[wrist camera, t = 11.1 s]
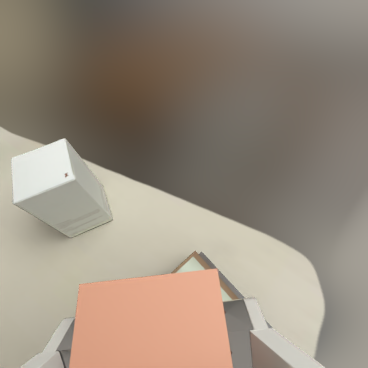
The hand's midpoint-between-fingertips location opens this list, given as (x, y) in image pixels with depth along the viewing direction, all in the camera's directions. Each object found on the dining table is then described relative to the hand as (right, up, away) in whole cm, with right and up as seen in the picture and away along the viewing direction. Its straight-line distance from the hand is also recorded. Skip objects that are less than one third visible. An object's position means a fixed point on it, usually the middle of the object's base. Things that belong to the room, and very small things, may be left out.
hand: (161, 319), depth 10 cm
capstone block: (+1, -4, +5) cm, 6 cm away
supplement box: (-15, +1, +30) cm, 33 cm away
